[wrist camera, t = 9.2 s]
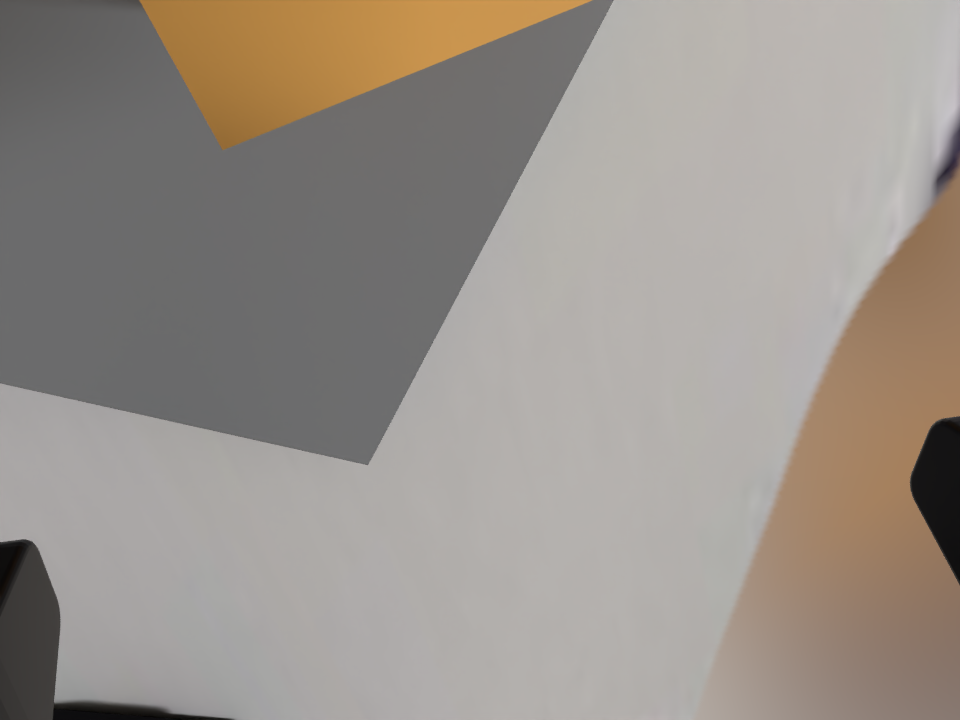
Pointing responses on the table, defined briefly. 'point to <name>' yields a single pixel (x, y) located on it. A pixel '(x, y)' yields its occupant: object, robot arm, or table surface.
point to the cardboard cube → (318, 50)
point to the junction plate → (248, 225)
